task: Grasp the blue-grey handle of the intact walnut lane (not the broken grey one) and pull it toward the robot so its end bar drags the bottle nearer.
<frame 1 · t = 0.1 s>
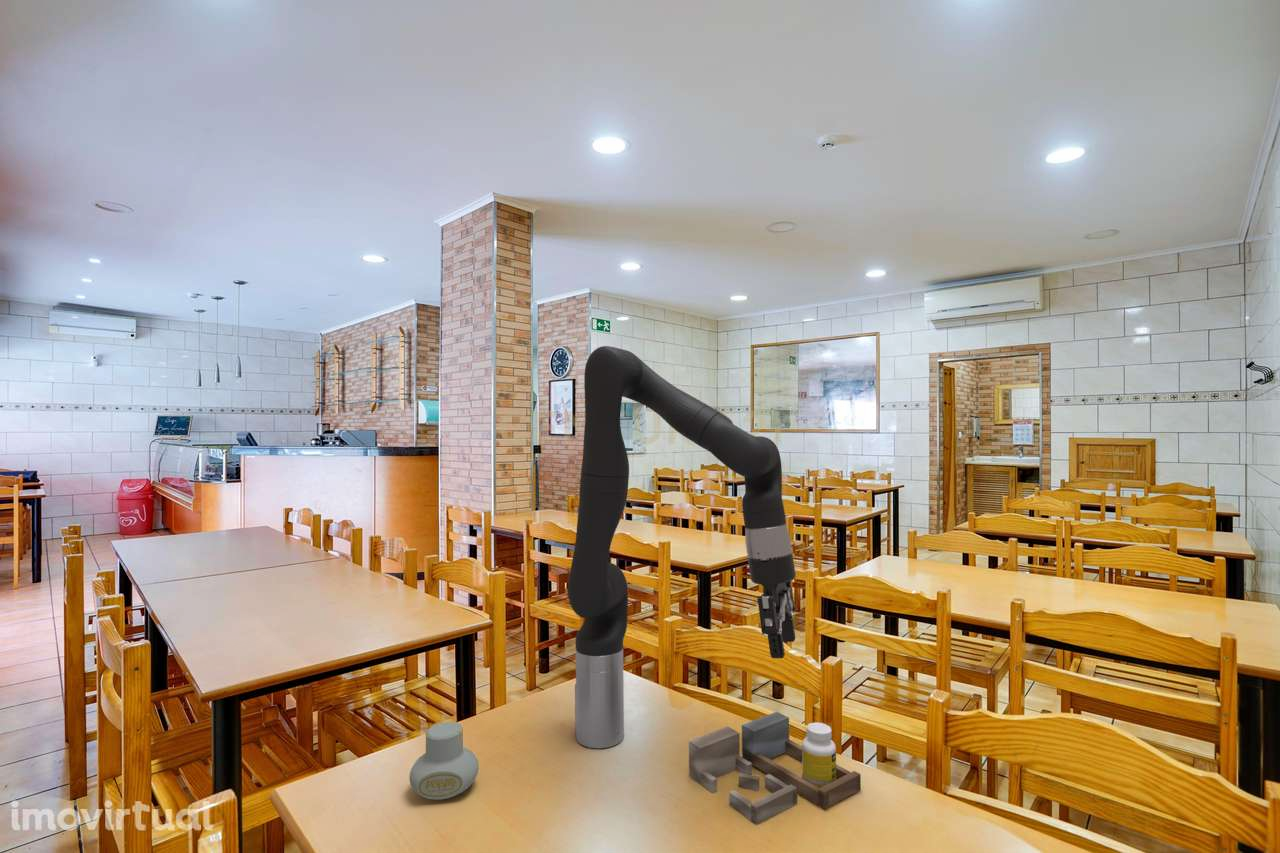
hand: (783, 649, 103), 22 cm above the table, tool pointing down, fingers open, 8 cm apart
air freshener: (444, 790, 102), on the table
supplement bottle: (819, 788, 102), resting in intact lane
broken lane: (741, 789, 101), on the table
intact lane: (798, 755, 105), point 3 cm above the table, slide at 0.0 cm
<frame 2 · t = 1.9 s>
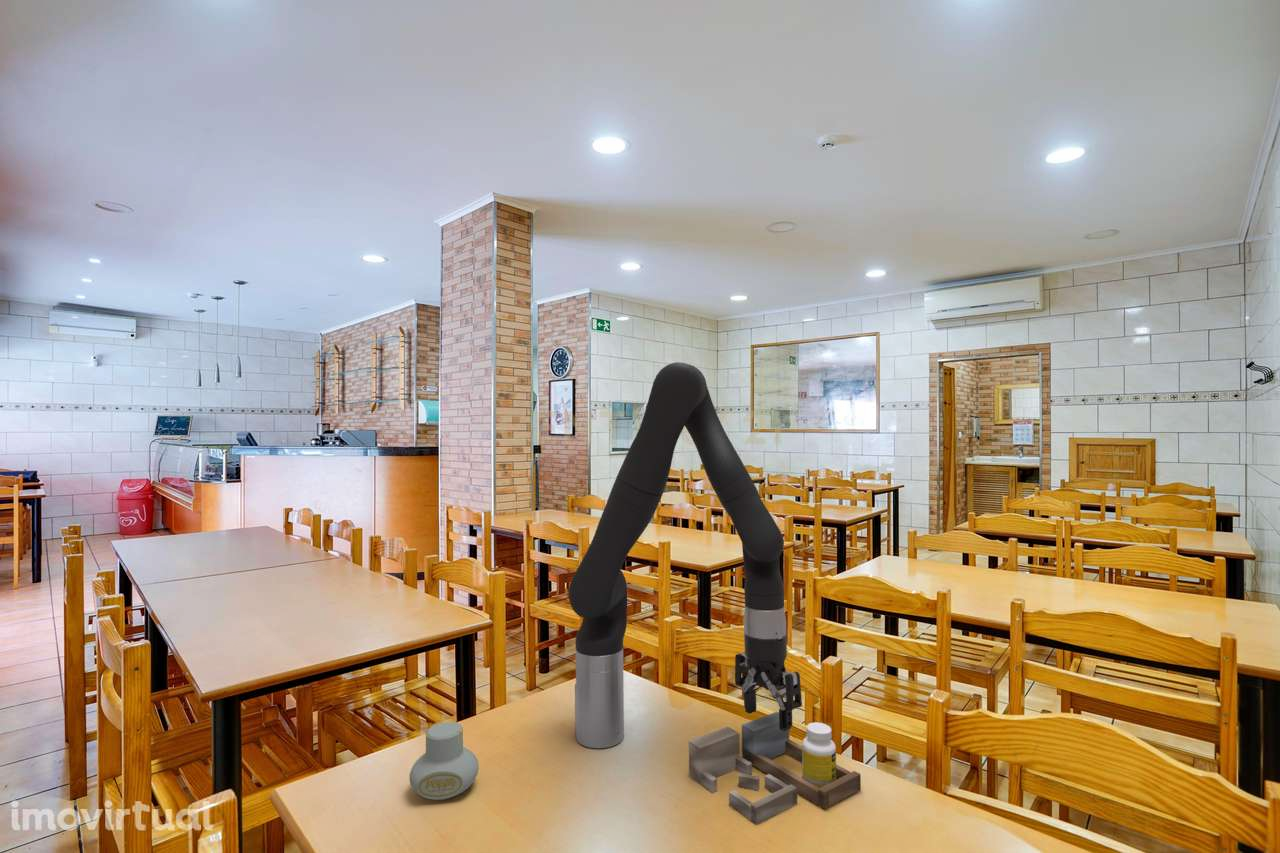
hand: (767, 720, 111), 7 cm above the table, tool pointing down, fingers open, 8 cm apart
nothing on the table moved.
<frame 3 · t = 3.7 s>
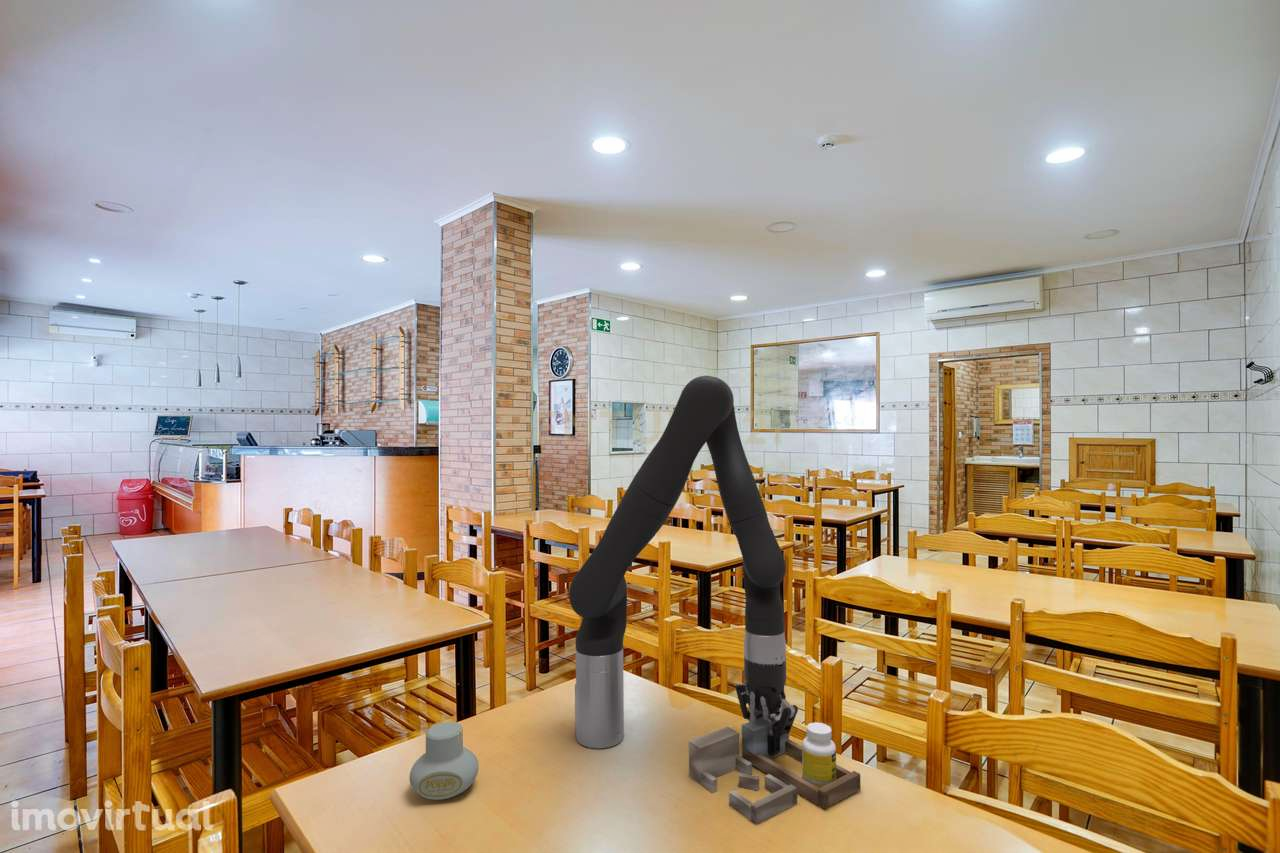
hand: (765, 749, 112), 1 cm above the table, tool pointing down, fingers closed on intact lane, 3 cm apart
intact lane: (798, 755, 105), point 3 cm above the table, slide at 0.0 cm, touching gripper
everything else where it was.
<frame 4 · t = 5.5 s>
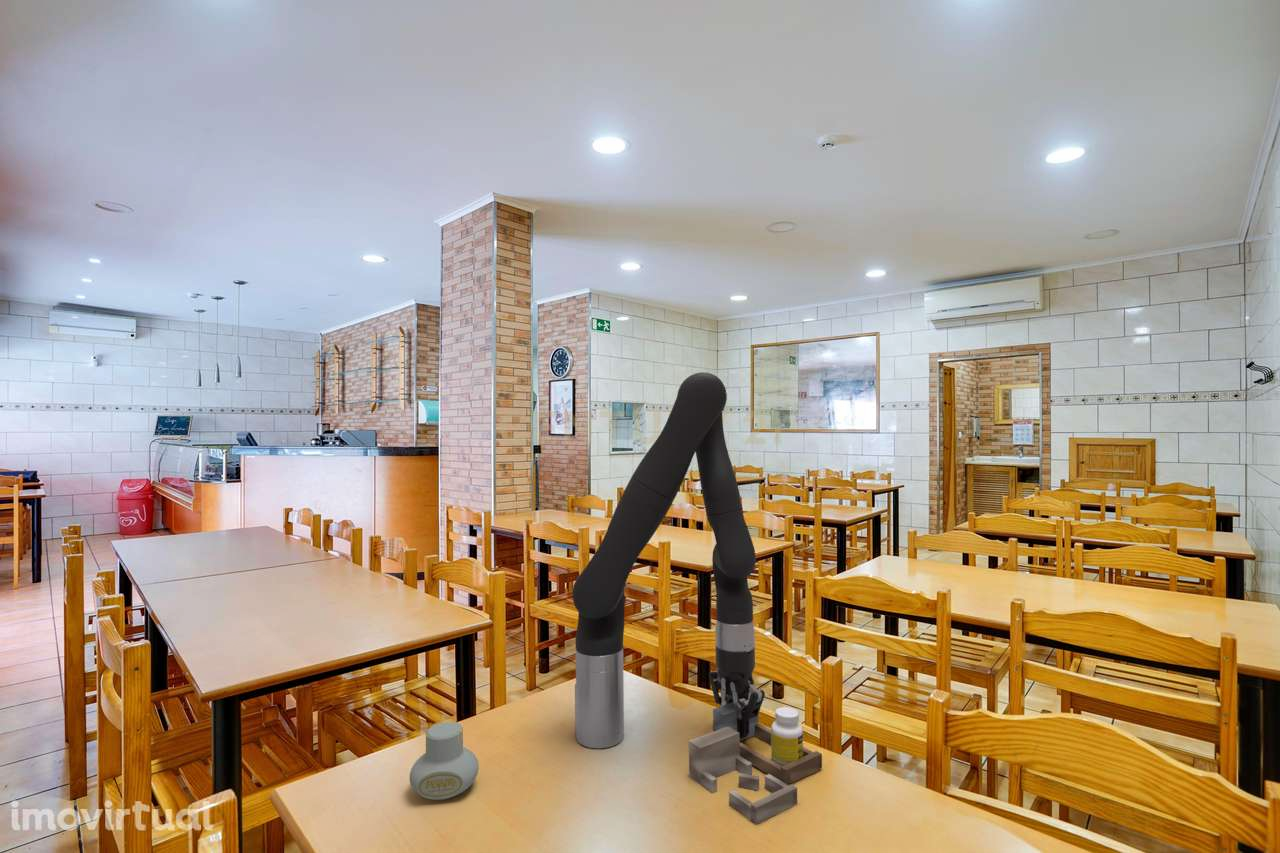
hand: (736, 732, 118), 1 cm above the table, tool pointing down, fingers closed on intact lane, 3 cm apart
supplement bottle: (787, 769, 108), resting in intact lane
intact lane: (765, 737, 112), point 3 cm above the table, slide at 7.8 cm, touching supplement bottle, gripper
everything else where it was.
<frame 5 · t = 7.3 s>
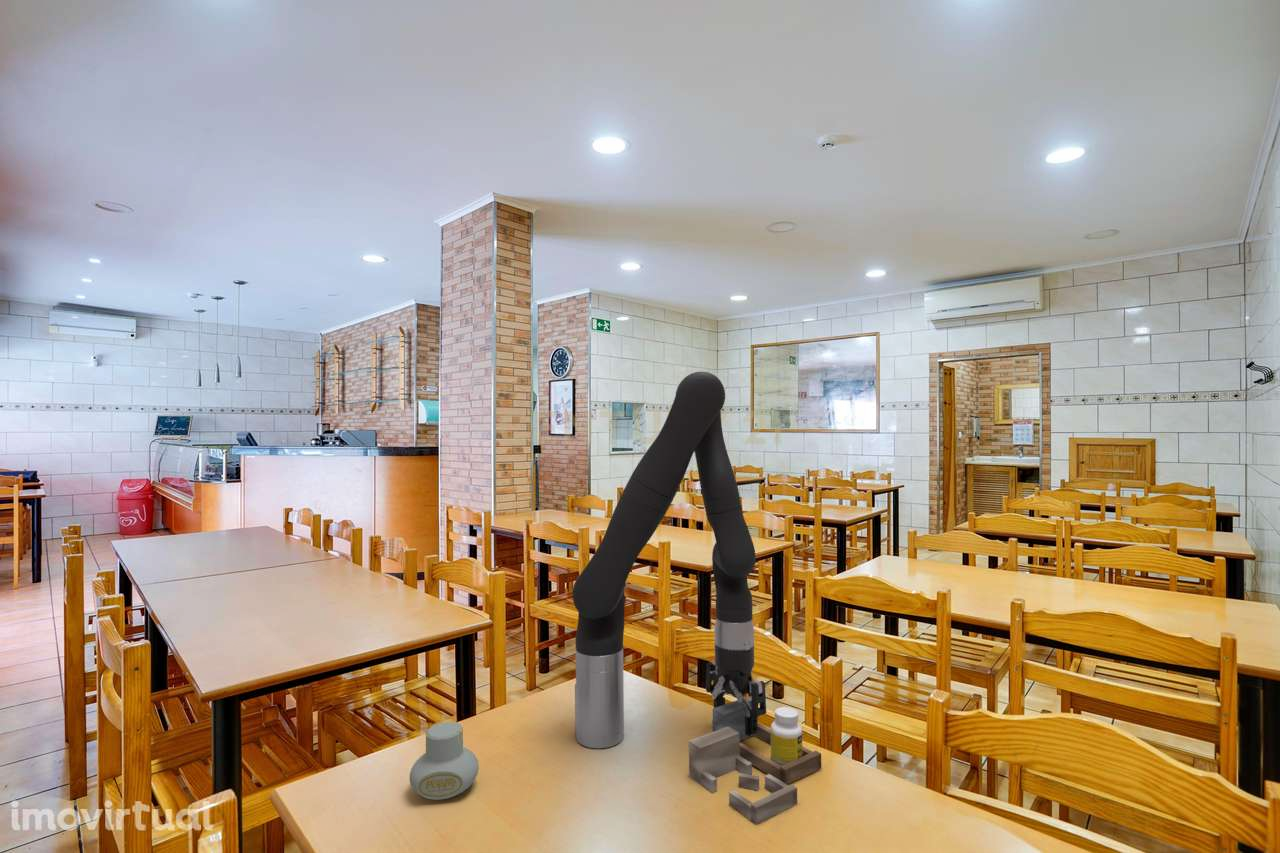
hand: (734, 725, 118), 2 cm above the table, tool pointing down, fingers open, 8 cm apart
supplement bottle: (786, 769, 108), resting in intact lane
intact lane: (764, 737, 112), point 3 cm above the table, slide at 7.9 cm
everything else where it was.
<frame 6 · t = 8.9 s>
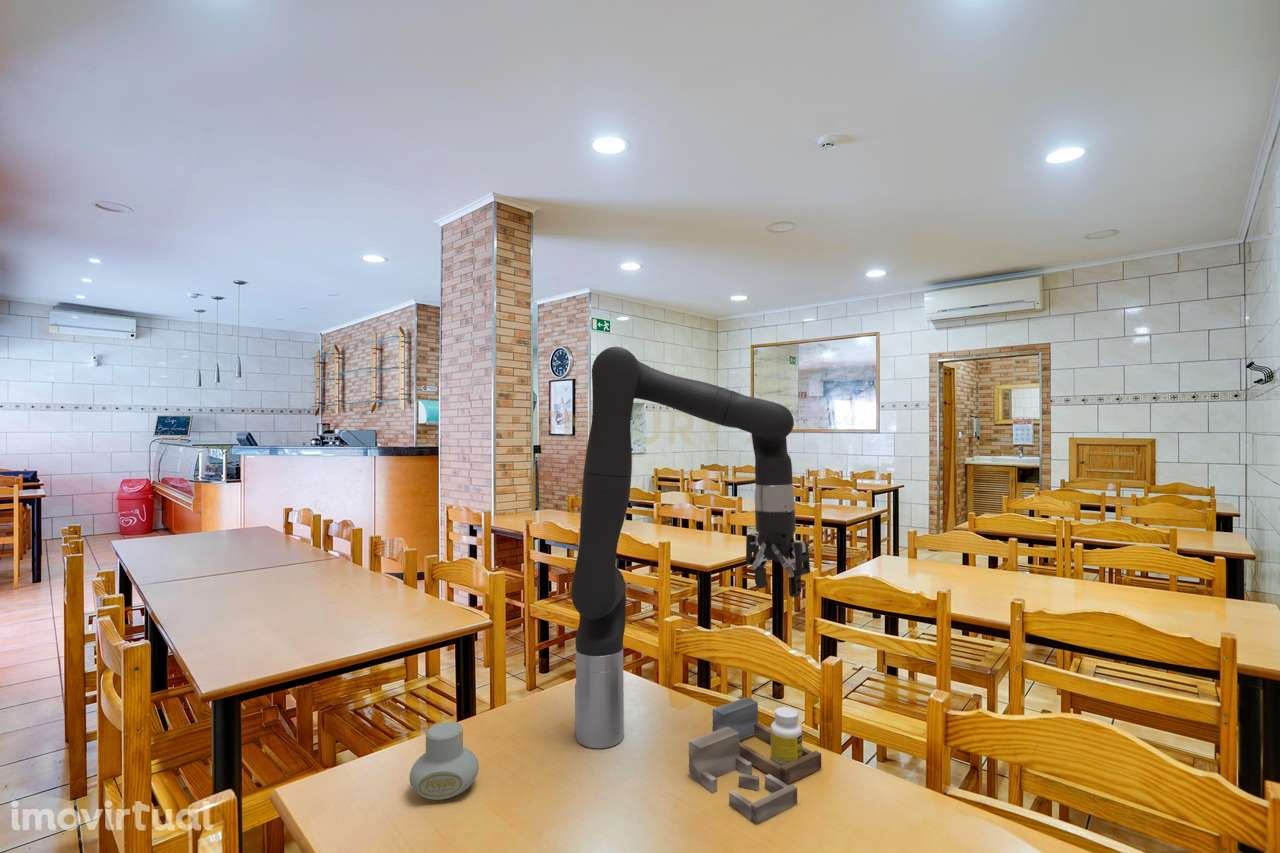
hand: (777, 591, 118), 28 cm above the table, tool pointing down, fingers open, 8 cm apart
nothing on the table moved.
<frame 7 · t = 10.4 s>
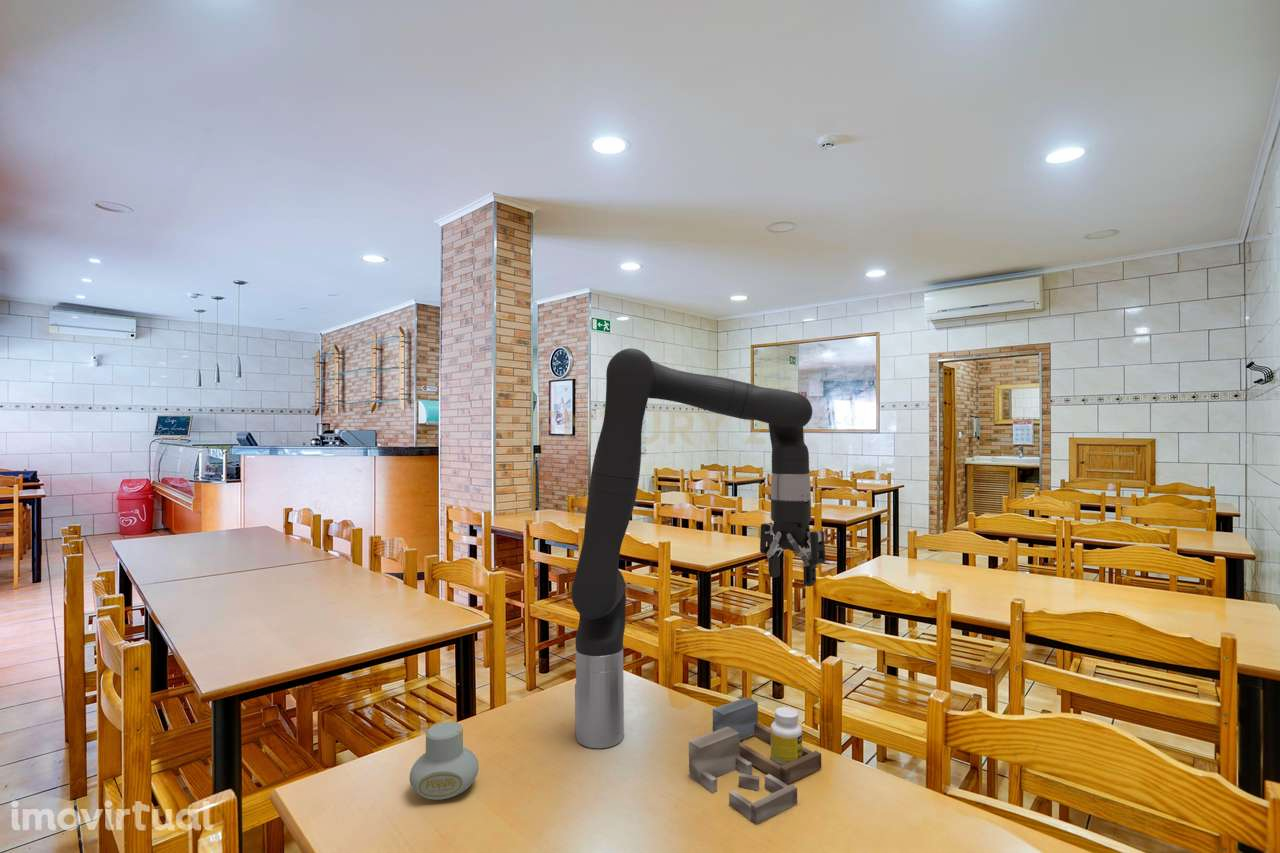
hand: (791, 581, 118), 30 cm above the table, tool pointing down, fingers open, 8 cm apart
nothing on the table moved.
at the end: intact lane slide at 7.9 cm; supplement bottle inside the target area (0.1 cm from its centre), resting in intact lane; supplement bottle tilted 0° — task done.
